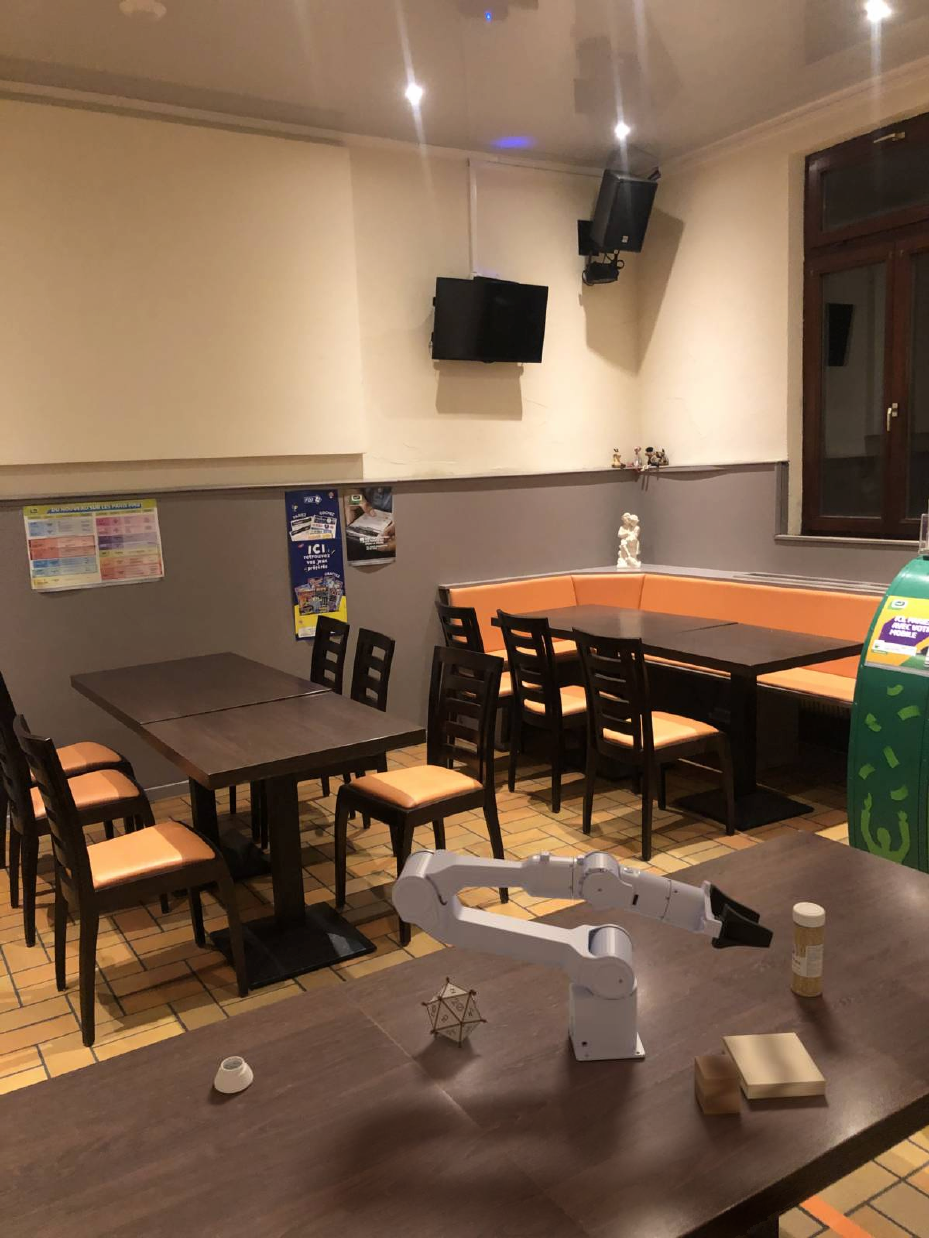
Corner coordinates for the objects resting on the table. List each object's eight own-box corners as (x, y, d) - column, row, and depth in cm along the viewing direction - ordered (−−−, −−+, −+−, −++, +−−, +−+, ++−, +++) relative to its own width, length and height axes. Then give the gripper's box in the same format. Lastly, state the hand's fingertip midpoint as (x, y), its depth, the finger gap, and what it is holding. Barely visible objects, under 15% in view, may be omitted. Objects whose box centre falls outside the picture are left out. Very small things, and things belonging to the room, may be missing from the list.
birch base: (747, 1098, 118) (748, 1084, 118) (723, 1049, 128) (723, 1036, 128) (824, 1094, 119) (825, 1080, 118) (794, 1045, 129) (794, 1032, 128)
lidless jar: (207, 1091, 124) (239, 1099, 122) (205, 1071, 123) (237, 1078, 121) (229, 1067, 128) (260, 1075, 126) (227, 1048, 128) (258, 1055, 126)
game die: (469, 1058, 134) (509, 1012, 131) (429, 1067, 128) (470, 1019, 125) (438, 1005, 140) (476, 960, 137) (399, 1011, 133) (437, 964, 131)
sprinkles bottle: (785, 982, 144) (787, 902, 141) (813, 980, 144) (816, 899, 142) (798, 999, 139) (801, 916, 137) (827, 997, 140) (831, 914, 137)
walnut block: (704, 1114, 116) (705, 1078, 115) (694, 1090, 120) (694, 1055, 120) (739, 1112, 116) (740, 1076, 115) (728, 1088, 121) (729, 1053, 120)
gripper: (680, 886, 119) (785, 918, 117) (666, 858, 133) (760, 886, 132) (665, 938, 119) (770, 971, 117) (653, 905, 133) (746, 934, 132)
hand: (764, 930), depth 124 cm, fingers open, 7 cm apart
